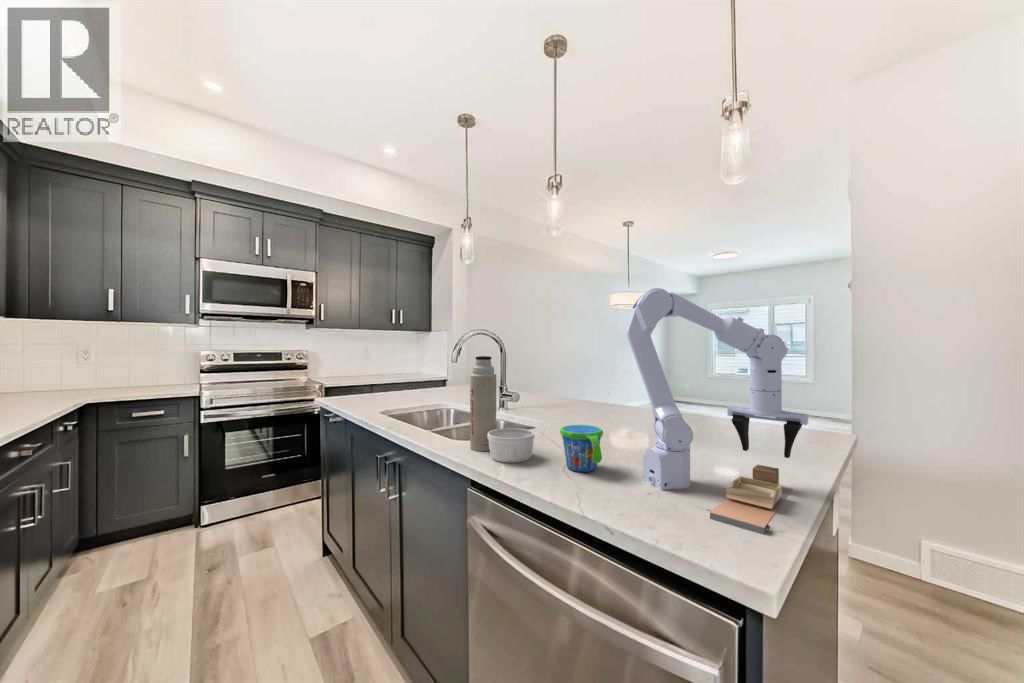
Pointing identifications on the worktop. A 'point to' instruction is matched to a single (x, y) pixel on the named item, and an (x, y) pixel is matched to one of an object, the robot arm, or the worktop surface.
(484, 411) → the thermos bottle
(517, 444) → the ramekin
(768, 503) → the shallow wooden tray
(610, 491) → the worktop surface
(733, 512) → the track
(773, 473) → the block
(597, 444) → the snack cup
